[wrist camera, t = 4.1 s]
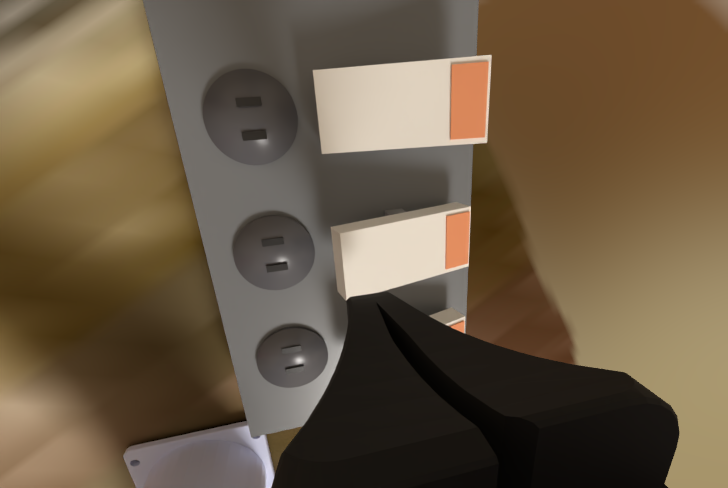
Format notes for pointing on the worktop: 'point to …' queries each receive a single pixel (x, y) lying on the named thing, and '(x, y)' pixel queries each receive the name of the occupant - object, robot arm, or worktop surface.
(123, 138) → the worktop surface
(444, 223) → the middle rocker
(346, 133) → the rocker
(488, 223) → the worktop surface
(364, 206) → the power strip
